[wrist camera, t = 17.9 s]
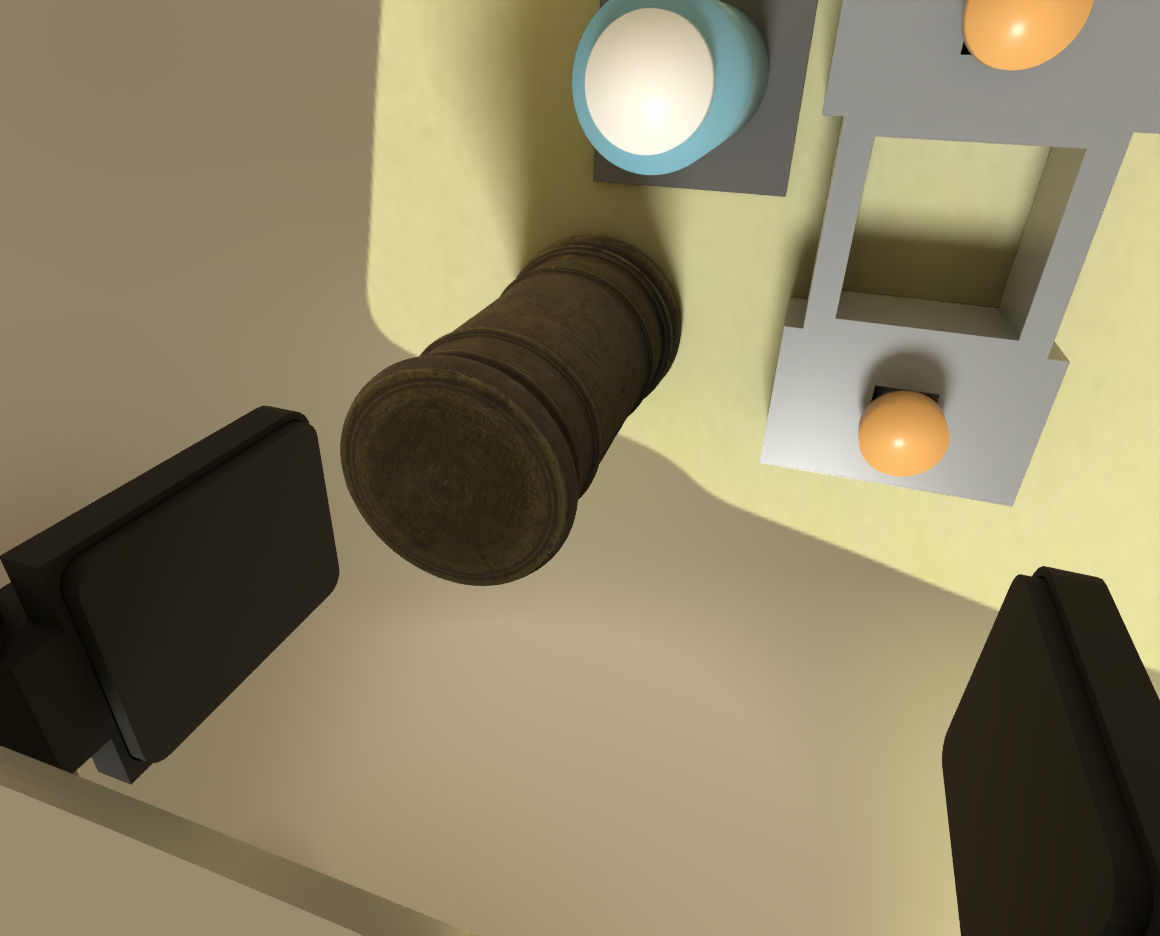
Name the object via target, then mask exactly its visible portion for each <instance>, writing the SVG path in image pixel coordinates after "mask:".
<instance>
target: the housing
mask: <svg viewBox="0 0 1160 936" xmlns="http://www.w3.org/2000/svg"><path fill="white" fill-rule="evenodd" d="M965 1H966V0H843V1H842V7H841V13H840V18H839V24H838V29H837V35H836V40H835V46H834V52H833V57H832V63H831V68H830V74H829V79H828V85H827V90H826V96H825V102H824V107H823V113H822V115H828V116H843V117H842V123H841V128H840V133H839V138H838V143H837V148H836V154H835V159H834V164H833V169H832V174H831V180H830V185H829V190H828V195H827V200H826V205H825V211H824V216H823V221H822V226H821V231H820V237H819V242H818V247H817V252H816V257H815V263H814V268H813V273H812V278H811V283H810V288H809V294H808V299H801V298H792V297H790V301H789V306H788V311H787V315H786V320H785V325H784V330H783V335H782V341H781V346H780V352H779V358H778V363H777V369H776V374H775V380H774V385H773V391H772V397H771V402H770V408H769V413H768V419H767V424H766V430H765V435H764V441H763V447H762V452H761V458H760V463H763V464H769V465H775V466H781V467H787V468H792V469H798V470H804V471H810V472H816V473H821V474H827V475H833V476H839V477H845V478H850V479H856V480H862V481H868V482H874V483H879V484H885V485H891V486H897V487H903V488H908V489H914V490H920V491H926V492H932V493H937V494H943V495H949V496H955V497H961V498H966V499H972V500H978V501H984V502H990V503H995V504H1001V505H1007V506H1013V504H1014V501H1015V499H1016V496H1017V493H1018V491H1019V488H1020V486H1021V483H1022V481H1023V478H1024V476H1025V473H1026V471H1027V468H1028V466H1029V463H1030V461H1031V458H1032V456H1033V453H1034V451H1035V448H1036V446H1037V443H1038V441H1039V438H1040V436H1041V433H1042V431H1043V428H1044V426H1045V423H1046V421H1047V418H1048V416H1049V413H1050V410H1051V408H1052V405H1053V403H1054V400H1055V398H1056V395H1057V393H1058V390H1059V388H1060V385H1061V383H1062V380H1063V378H1064V375H1065V373H1066V370H1067V368H1068V365H1069V363H1070V362H1069V360H1068V359H1067V358H1066V356H1065V355H1064V354H1063V352H1062V351H1061V350H1060V348H1059V347H1058V346H1057V344H1056V343H1055V342H1054V340H1055V337H1056V335H1057V332H1058V329H1059V327H1060V324H1061V321H1062V319H1063V316H1064V314H1065V311H1066V308H1067V306H1068V303H1069V300H1070V298H1071V295H1072V292H1073V290H1074V287H1075V285H1076V282H1077V279H1078V277H1079V274H1080V271H1081V269H1082V266H1083V264H1084V261H1085V258H1086V256H1087V253H1088V250H1089V248H1090V245H1091V242H1092V240H1093V237H1094V235H1095V232H1096V229H1097V227H1098V224H1099V221H1100V219H1101V216H1102V214H1103V211H1104V208H1105V206H1106V203H1107V200H1108V198H1109V195H1110V192H1111V190H1112V187H1113V185H1114V182H1115V179H1116V177H1117V174H1118V171H1119V169H1120V166H1121V163H1122V161H1123V158H1124V156H1125V153H1126V150H1127V148H1128V145H1129V142H1130V140H1131V137H1132V135H1133V132H1139V133H1157V134H1160V0H1094V1H1093V5H1092V9H1091V11H1090V14H1089V16H1088V18H1087V20H1086V22H1085V24H1084V26H1083V27H1082V29H1081V30H1080V32H1079V33H1078V35H1077V36H1076V37H1075V38H1074V40H1073V41H1072V42H1071V43H1070V44H1069V45H1068V46H1067V47H1066V48H1065V49H1063V50H1062V51H1061V52H1060V53H1059V54H1057V55H1056V56H1054V57H1053V58H1051V59H1050V60H1048V61H1046V62H1044V63H1042V64H1040V65H1037V66H1035V67H1031V68H1028V69H1022V70H1001V69H994V68H991V67H988V66H986V65H983V64H982V63H980V62H979V61H977V60H976V59H975V58H974V57H973V56H972V55H960V54H961V50H962V46H963V42H964V40H963V36H962V30H961V18H962V12H963V7H964V4H965ZM875 136H880V137H897V138H913V139H930V140H946V141H963V142H979V143H996V144H1012V145H1029V146H1046V147H1052V148H1051V151H1050V154H1049V157H1048V160H1047V163H1046V166H1045V169H1044V172H1043V175H1042V178H1041V181H1040V184H1039V187H1038V190H1037V193H1036V196H1035V199H1034V202H1033V205H1032V208H1031V211H1030V214H1029V217H1028V220H1027V223H1026V226H1025V229H1024V232H1023V235H1022V238H1021V241H1020V245H1019V248H1018V251H1017V254H1016V257H1015V260H1014V263H1013V266H1012V269H1011V272H1010V275H1009V278H1008V281H1007V284H1006V287H1005V290H1004V293H1003V296H1002V299H1001V302H1000V305H999V308H994V307H985V306H976V305H967V304H958V303H949V302H940V301H931V300H922V299H914V298H905V297H896V296H887V295H878V294H869V293H860V292H851V291H842V285H843V280H844V276H845V271H846V266H847V262H848V257H849V253H850V248H851V243H852V239H853V234H854V229H855V225H856V220H857V215H858V211H859V206H860V202H861V197H862V192H863V188H864V183H865V178H866V174H867V169H868V164H869V160H870V155H871V151H872V146H873V141H874V137H875ZM875 386H882V387H890V388H897V389H904V390H911V391H918V392H919V393H921V394H924V395H926V396H928V397H930V398H931V399H933V400H934V401H935V402H936V403H937V404H938V405H939V406H940V408H941V409H942V411H943V413H944V416H945V419H946V423H947V426H948V430H949V437H950V438H949V445H948V448H947V451H946V453H945V455H944V456H943V458H942V459H941V460H940V461H939V462H938V463H937V464H936V465H935V466H933V467H932V468H931V469H929V470H927V471H925V472H923V473H920V474H917V475H913V476H905V477H898V476H891V475H887V474H884V473H881V472H879V471H877V470H876V469H874V468H873V467H872V466H870V465H869V464H868V463H867V462H866V460H865V459H864V457H863V456H862V454H861V451H860V448H859V435H858V426H859V421H860V418H861V415H862V413H863V412H864V410H865V409H866V407H867V406H868V405H869V404H870V403H871V402H873V401H871V400H872V396H873V392H874V388H875Z"/></svg>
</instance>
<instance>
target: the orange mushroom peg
mask: <svg viewBox="0 0 1160 936" xmlns="http://www.w3.org/2000/svg"><path fill="white" fill-rule="evenodd" d="M876 388H877V397H878V398H877V399H875V400H874V401H873V402H871V403H870V404H869V405H868V406H867V407H866V409H865V410H864V412H863V413H862V415H861V418H860V421H859V426H858V435H859V448H860V451H861V454H862V456H863V457H864V459H865V460H866V462H867V463H868V464H869V465H870V466H872V467H873V468H874V469H876V470H877V471H879V472H881V473H884V474H887V475H891V476H898V477H905V476H913V475H917V474H920V473H923V472H925V471H927V470H929V469H931V468H932V467H933V466H935V465H936V464H937V463H938V462H939V461H940V460H941V459H942V458H943V456H944V455H945V453H946V451H947V448H948V445H949V438H950V437H949V430H948V426H947V423H946V419H945V416H944V413H943V411H942V409H941V408H940V406H939V405H938V404H937V403H936V402H935V401H934V400H933V399H931V398H930V397H928V396H926V395H924V394H921V393H918V392H915V391H911V390H904V389H897V388H890V387H882V386H876Z"/></svg>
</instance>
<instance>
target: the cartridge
mask: <svg viewBox="0 0 1160 936" xmlns="http://www.w3.org/2000/svg"><path fill="white" fill-rule="evenodd" d="M768 79H769V56H768V50H767V47H766V43H765V40H764V38H763V36H762V33H761V32H760V30H759V28H758V27H757V25H756V24H755V23H754V22H753V20H752V19H751V18H750V17H749V16H748V15H746V14H745V13H744V12H743V11H741V10H739V9H738V8H736V7H734V6H731V5H729V4H727V3H724V2H722V1H719V0H609V1H608V2H606V3H605V4H604V5H603V6H602V7H601V8H600V9H599V10H598V11H597V13H596V14H595V15H594V17H593V18H592V19H591V21H590V22H589V24H588V26H587V27H586V29H585V31H584V33H583V35H582V37H581V40H580V42H579V44H578V48H577V51H576V54H575V59H574V64H573V71H572V94H573V101H574V106H575V110H576V114H577V117H578V120H579V122H580V125H581V127H582V129H583V131H584V133H585V135H586V137H587V138H588V139H589V141H590V142H591V144H592V145H593V146H594V147H595V149H596V150H597V151H598V152H599V153H600V154H601V155H602V156H603V157H605V158H606V159H607V160H608V161H610V162H611V163H613V164H614V165H616V166H618V167H620V168H622V169H624V170H626V171H630V172H633V173H637V174H643V175H660V174H667V173H671V172H674V171H678V170H680V169H682V168H684V167H687V166H688V165H690V164H692V163H693V162H695V161H697V160H698V159H699V158H701V157H702V156H704V155H705V154H707V153H708V152H710V151H711V150H712V149H714V148H715V147H717V146H718V145H720V144H721V143H723V142H724V141H725V140H727V139H728V138H730V137H731V136H733V135H734V134H736V133H737V132H738V131H739V130H741V129H742V128H743V127H744V126H745V125H746V124H747V123H748V122H749V121H750V120H751V119H752V117H753V116H754V115H755V113H756V112H757V110H758V108H759V107H760V105H761V102H762V100H763V98H764V95H765V92H766V89H767V84H768Z"/></svg>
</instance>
